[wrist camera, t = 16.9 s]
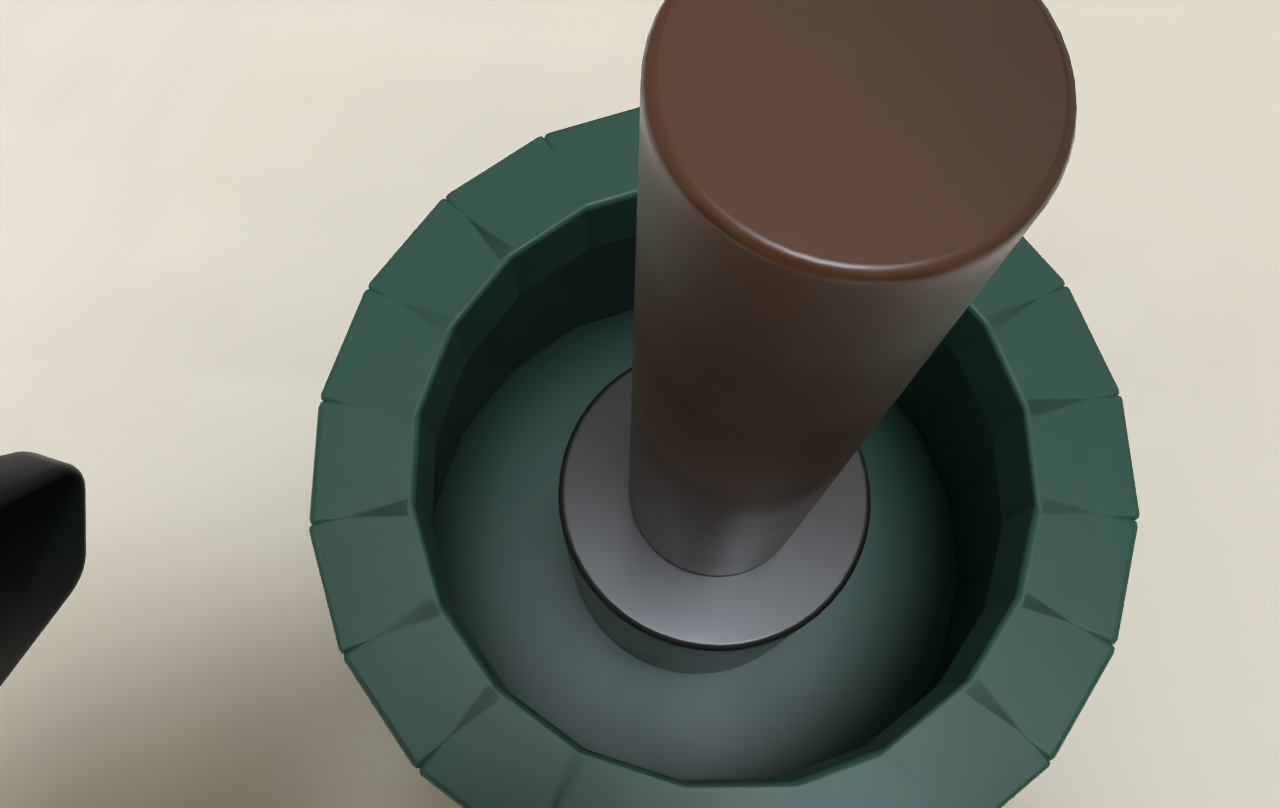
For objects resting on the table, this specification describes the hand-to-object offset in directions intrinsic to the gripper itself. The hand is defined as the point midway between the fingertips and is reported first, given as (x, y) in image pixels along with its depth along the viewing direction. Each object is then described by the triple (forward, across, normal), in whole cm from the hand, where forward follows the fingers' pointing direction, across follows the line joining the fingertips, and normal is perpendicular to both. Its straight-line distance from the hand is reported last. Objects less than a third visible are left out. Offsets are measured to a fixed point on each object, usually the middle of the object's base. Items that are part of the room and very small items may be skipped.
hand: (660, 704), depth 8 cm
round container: (+9, 0, +5) cm, 11 cm away
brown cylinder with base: (+9, 0, +5) cm, 10 cm away
